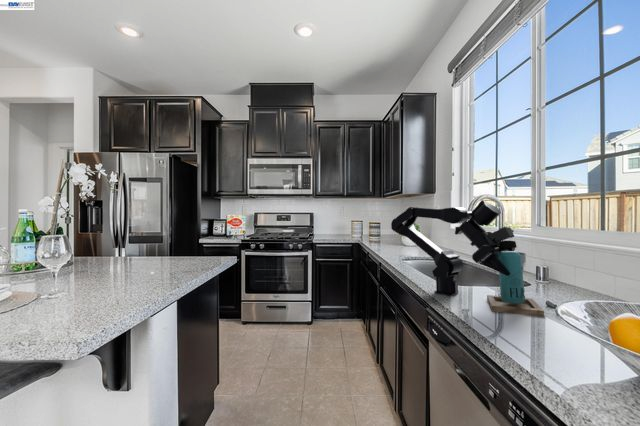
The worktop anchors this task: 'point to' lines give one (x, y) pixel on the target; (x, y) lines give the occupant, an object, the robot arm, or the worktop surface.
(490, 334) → the worktop surface
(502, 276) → the beverage bottle
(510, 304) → the walnut tray
